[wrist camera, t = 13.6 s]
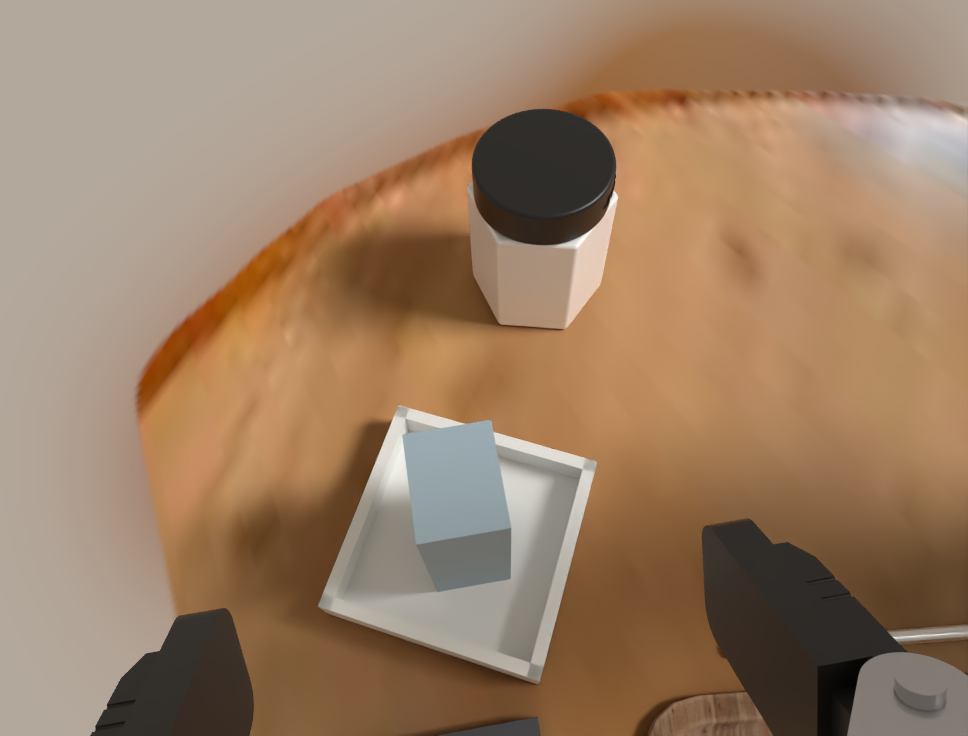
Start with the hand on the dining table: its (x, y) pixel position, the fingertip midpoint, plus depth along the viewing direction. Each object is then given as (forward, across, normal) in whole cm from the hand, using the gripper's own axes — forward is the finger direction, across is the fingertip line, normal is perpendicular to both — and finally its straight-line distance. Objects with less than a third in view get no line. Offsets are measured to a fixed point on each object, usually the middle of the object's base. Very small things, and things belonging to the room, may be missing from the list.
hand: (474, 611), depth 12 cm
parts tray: (+28, 0, +15) cm, 32 cm away
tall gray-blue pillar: (+28, 0, +15) cm, 31 cm away
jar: (+40, -7, +3) cm, 41 cm away
